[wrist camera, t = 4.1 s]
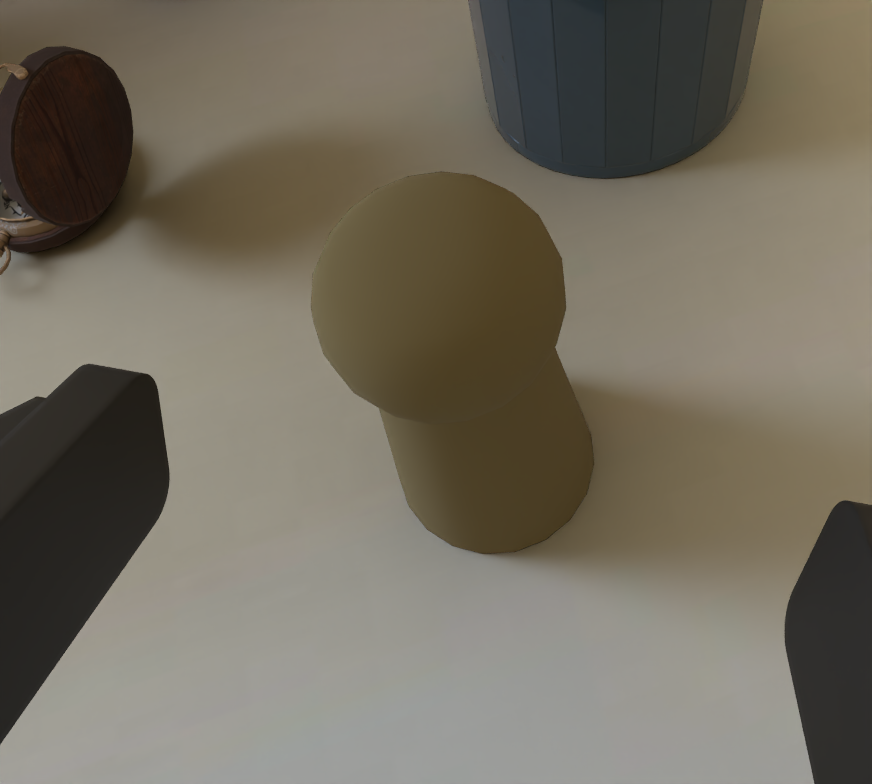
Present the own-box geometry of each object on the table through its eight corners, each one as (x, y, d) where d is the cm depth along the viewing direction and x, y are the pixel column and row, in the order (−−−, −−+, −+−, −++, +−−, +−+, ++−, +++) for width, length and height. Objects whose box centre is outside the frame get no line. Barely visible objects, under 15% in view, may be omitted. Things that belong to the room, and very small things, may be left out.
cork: (599, 373, 25) (595, 118, 15) (588, 563, 23) (573, 403, 13) (414, 365, 27) (303, 127, 17) (383, 544, 24) (233, 385, 14)
